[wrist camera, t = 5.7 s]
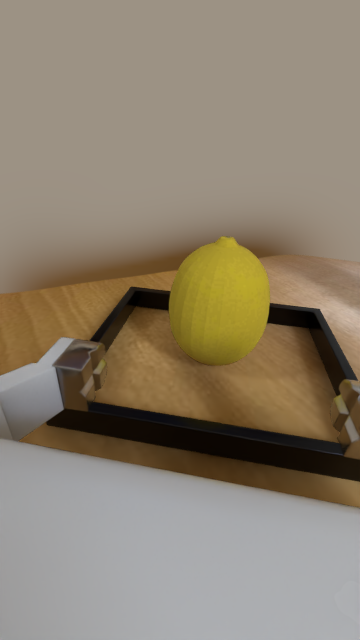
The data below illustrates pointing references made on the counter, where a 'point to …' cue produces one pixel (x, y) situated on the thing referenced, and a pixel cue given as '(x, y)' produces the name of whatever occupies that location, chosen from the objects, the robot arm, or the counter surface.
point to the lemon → (219, 303)
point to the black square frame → (211, 434)
